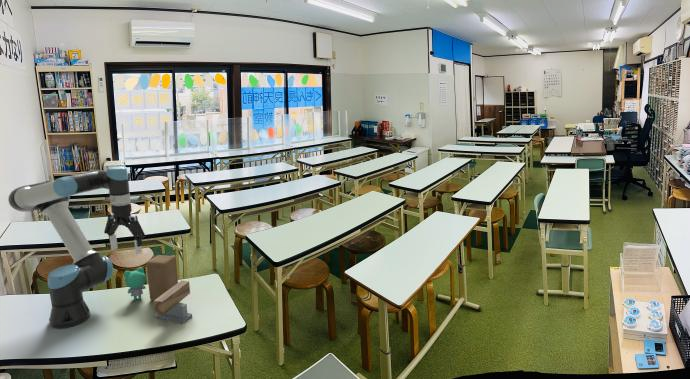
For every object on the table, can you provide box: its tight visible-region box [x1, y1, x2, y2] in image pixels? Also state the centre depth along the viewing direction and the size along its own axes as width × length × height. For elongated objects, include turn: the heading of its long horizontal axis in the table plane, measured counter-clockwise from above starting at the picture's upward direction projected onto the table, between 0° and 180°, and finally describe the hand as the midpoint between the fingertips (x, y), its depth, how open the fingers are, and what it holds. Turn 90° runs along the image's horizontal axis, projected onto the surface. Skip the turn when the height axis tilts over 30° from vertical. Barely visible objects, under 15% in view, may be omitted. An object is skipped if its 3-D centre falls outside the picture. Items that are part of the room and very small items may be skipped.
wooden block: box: [145, 254, 179, 301], centre depth 208 cm, size 10×10×20 cm
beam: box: [153, 280, 191, 315], centre depth 189 cm, size 4×20×6 cm, turn 168°
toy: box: [123, 266, 147, 301], centre depth 207 cm, size 9×8×15 cm
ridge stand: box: [156, 302, 193, 325], centre depth 191 cm, size 14×6×7 cm, turn 70°
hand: (126, 251), depth 186 cm, fingers open, 13 cm apart
